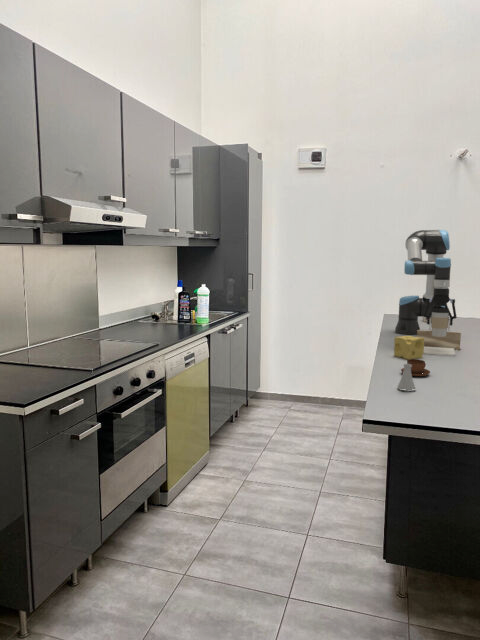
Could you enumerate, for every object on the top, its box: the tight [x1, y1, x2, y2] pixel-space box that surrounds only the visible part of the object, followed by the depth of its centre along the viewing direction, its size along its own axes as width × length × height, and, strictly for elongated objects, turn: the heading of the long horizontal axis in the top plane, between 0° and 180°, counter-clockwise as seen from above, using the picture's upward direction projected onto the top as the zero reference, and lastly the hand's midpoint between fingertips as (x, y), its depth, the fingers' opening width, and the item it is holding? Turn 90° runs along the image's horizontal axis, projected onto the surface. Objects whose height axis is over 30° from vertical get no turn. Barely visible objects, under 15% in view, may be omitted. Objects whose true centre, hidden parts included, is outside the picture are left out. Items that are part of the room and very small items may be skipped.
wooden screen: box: [416, 329, 462, 351], centre depth 285 cm, size 6×22×9 cm, turn 70°
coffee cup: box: [431, 306, 451, 337], centre depth 273 cm, size 9×9×15 cm
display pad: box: [423, 346, 456, 357], centre depth 276 cm, size 16×16×1 cm
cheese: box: [393, 335, 424, 360], centre depth 263 cm, size 10×11×10 cm
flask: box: [397, 363, 416, 390], centre depth 205 cm, size 7×7×10 cm
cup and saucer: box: [400, 358, 431, 377], centre depth 229 cm, size 12×12×6 cm
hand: (439, 331), depth 274 cm, fingers closed on coffee cup, 8 cm apart
